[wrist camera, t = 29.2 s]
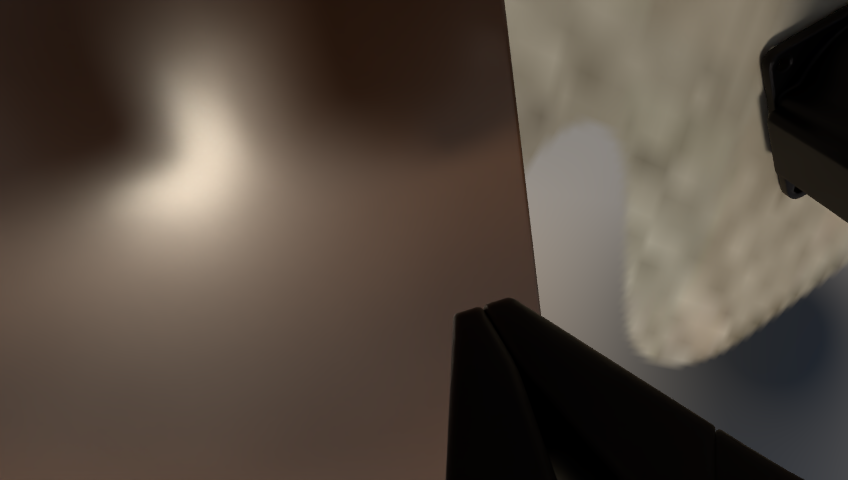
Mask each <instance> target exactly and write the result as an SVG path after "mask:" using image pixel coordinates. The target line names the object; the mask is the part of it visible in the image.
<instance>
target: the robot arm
mask: <svg viewBox="0 0 848 480" xmlns="http://www.w3.org/2000/svg"><path fill="white" fill-rule="evenodd" d="M781 59H782V61H781V63H780V64H779V65H778V66H777V64H778V62H779V60H781ZM762 72H763V79H764V85H765V91H766V98H767V104H768V111H769V115H768V120H767V123H768V130H769V136H770V142H771V148H772V155H773V161H774V167H775V171H776V173H777V174H779V181H780V187H781V190H782V192H783V193H784V194H786V195H787V196H789V197H790V198H792V199H797V198H800V197H802V196H804V195H806V194H807V195H809V196H810V197H812V198H813V199H814V200H816V201H817V202H819V203H820V204H822V205H823V206H825V207H826V208H827V209H829V210H830V211H832V212H833V213H835V214H836V215H837V216H839V217H840V218H842V219H843V220H845V221H846V222H847V223H848V5H847V6H845V7H843V8H842V9H840V10H838V11H836V12H835V13H833V14H831V15H829V16H828V17H826V18H824V19H822V20H821V21H819V22H817V23H815V24H814V25H812V26H810V27H808V28H807V29H805V30H803V31H801V32H800V33H798V34H796V35H794V36H793V37H791V38H789V39H787V40H785V41H784V42H782V43H780V44H778V45H777V46H775V47H773V48H772V49H771V50H769V51H768V53H767V54H766V55H765V57H764V59H763V61H762ZM446 480H804V479H802V478H800V477H798V476H797V475H795V474H793V473H791V472H789V471H787V470H786V469H784V468H782V467H780V466H779V465H777V464H776V463H774V462H772V461H771V460H769V459H767V458H766V457H764V456H762V455H761V454H759V453H757V452H756V451H754V450H752V449H751V448H749V447H747V446H746V445H744V444H743V443H741V442H740V441H738V440H736V439H735V438H733V437H732V436H730V435H729V434H727V433H725V432H724V431H722V430H720V429H719V430H716V432H715V427H714V425H712V424H711V423H709V422H708V421H706V420H705V419H703V418H701V417H700V416H698V415H696V414H695V413H693V412H692V411H690V410H689V409H687V408H686V407H684V406H682V405H681V404H679V403H678V402H676V401H675V400H673V399H671V398H670V397H668V396H667V395H665V394H663V393H662V392H660V391H659V390H657V389H656V388H654V387H652V386H651V385H649V384H648V383H646V382H645V381H643V380H641V379H640V378H638V377H637V376H635V375H633V374H632V373H630V372H629V371H627V370H625V369H624V368H623V367H621V366H619V365H618V364H616V363H615V362H613V361H612V360H610V359H608V358H607V357H605V356H604V355H602V354H601V353H599V352H597V351H596V350H594V349H593V348H591V347H589V346H588V345H586V344H585V343H583V342H582V341H580V340H578V339H577V338H575V337H574V336H572V335H570V334H569V333H567V332H566V331H564V330H562V329H561V328H560V327H558V326H556V325H555V324H553V323H552V322H550V321H549V320H547V319H545V318H544V317H542V316H541V315H539V314H537V313H536V312H534V311H533V310H531V309H530V308H528V307H526V306H525V305H523V304H522V303H520V302H519V301H517V300H515V299H514V298H504V299H501V300H498V301H494V302H491V303H488V304H486V305H485V306H484V308H483V309H482V308H481V307H475V308H472V309H469V310H465V311H462V312H459V313H456V314H455V315H454V317H453V330H452V352H451V374H450V395H449V417H448V439H447V460H446Z"/></svg>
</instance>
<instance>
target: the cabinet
mask: <svg viewBox="0 0 848 480" xmlns="http://www.w3.org/2000/svg"><path fill="white" fill-rule="evenodd" d="M504 298H514V299H515V300H517V301H519V302H520V303H522V304H523V305H525V306H526V307H528V308H530V309H531V310H533V311H534V312H536V313H537V314H539V315H541V311H540V303H539V294H538V285H537V276H536V268H535V259H534V251H533V242H532V235H531V225H530V217H529V208H528V200H527V191H526V183H525V174H524V165H523V157H522V148H521V139H520V131H519V122H518V114H517V105H516V97H515V88H514V80H513V71H512V62H511V54H510V45H509V37H508V28H507V20H506V11H505V3H504V0H0V480H446V460H447V439H448V417H449V395H450V374H451V352H452V330H453V317H454V315H455V314H456V313H459V312H462V311H465V310H469V309H472V308H475V307H481V308H482V309H483V308H484V306H485V305H486V304H488V303H491V302H494V301H498V300H501V299H504Z"/></svg>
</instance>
